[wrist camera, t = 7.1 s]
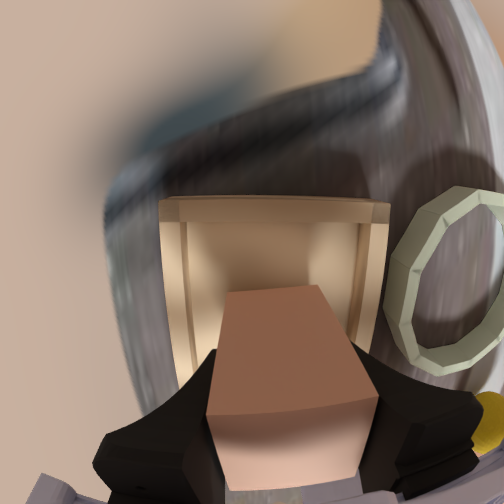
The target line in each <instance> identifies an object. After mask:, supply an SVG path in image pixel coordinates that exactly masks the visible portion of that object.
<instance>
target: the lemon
mask: <svg viewBox="0 0 504 504" xmlns="http://www.w3.org/2000/svg"><path fill="white" fill-rule="evenodd" d="M475 397H476V399H477V400H478V401H479V402H480V403H481V405H482V406H483V408H484V412H483V417H482V419H481V421H480V423H479V425H478V427H477V429H476V430H475V432H474V434H473V435H472V437H471V439H472V441H473V442H474V447H473V448H472V449H473V450H474V451H476V452H478V453H481V454H486V453H487V452H489V451H491V450H492V449H494V448H495V447H497V446H499V445H500V443H501V441H502V440H503V438H504V397H503V396H501V395H500V394H498V393H495V392H490V391H487V392H482V393H479V394H477V395H476V396H475Z"/></svg>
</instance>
